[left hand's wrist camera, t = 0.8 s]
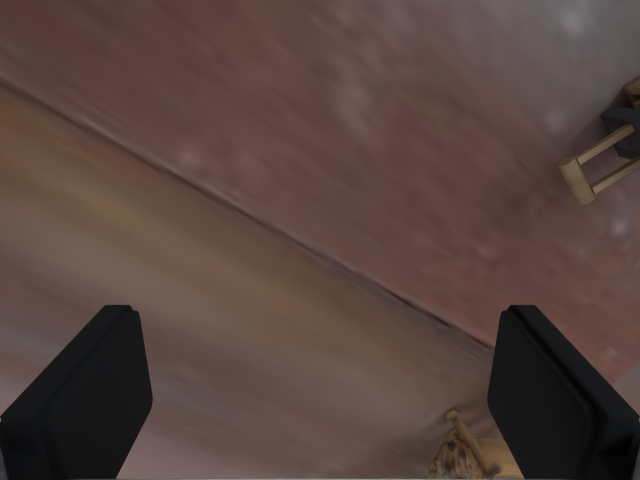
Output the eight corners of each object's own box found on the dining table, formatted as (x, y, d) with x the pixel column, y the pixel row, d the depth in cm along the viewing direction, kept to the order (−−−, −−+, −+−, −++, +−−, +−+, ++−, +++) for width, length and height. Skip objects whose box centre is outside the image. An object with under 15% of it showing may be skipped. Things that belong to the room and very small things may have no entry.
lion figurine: (416, 449, 49) (436, 527, 41) (413, 412, 47) (434, 485, 39) (551, 435, 48) (599, 512, 40) (553, 396, 46) (605, 468, 38)
